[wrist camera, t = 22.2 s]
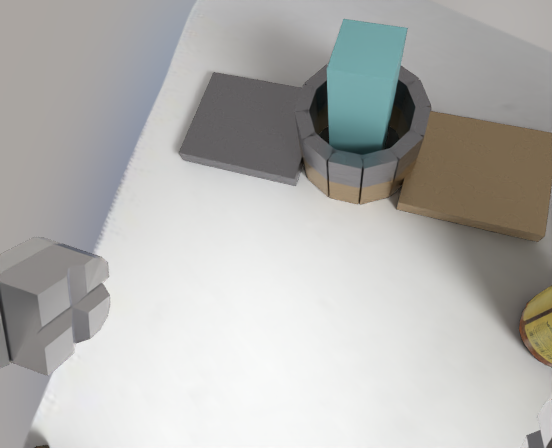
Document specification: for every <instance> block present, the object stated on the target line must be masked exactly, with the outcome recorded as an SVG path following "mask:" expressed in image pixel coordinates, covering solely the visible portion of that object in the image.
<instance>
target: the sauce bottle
mask: <svg viewBox="0 0 552 448" xmlns="http://www.w3.org/2000/svg"><path fill="white" fill-rule="evenodd" d="M519 331H520V335H521V338H522V340H523V342H524V344H525V346H526V347H527V348H528V350H529V351H530V352H531V354H532V355H533V356H534V357H535V358H536V359H537V360H538V361H540V362H542V363H544V364H545V365H548V366H550V367H552V285H551V286H550V287H548V288H547V289H545V290H544V291H542V292H540V293H539V294H537V295H536V296H535V297H534V298H533V299H532V300H531V301H529V302H528V303H527V304H526V307H525V309H524V310H523V312H522V316H521V319H520V325H519Z"/></svg>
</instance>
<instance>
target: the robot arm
mask: <svg viewBox="0 0 552 448" xmlns="http://www.w3.org/2000/svg"><path fill="white" fill-rule="evenodd" d="M108 277H109V271H108V262H107V261H106V260H105V259H103V258H102V257H100V256H97V255H94V254H91V253H88V252H86V251H83V250H80V249H77V248H74V247H71V246H68V245H65V244H60V243H58V242H56V241H52V240H49V239H46V238H43V237H33V238H31V239H29V240H27V241H25V242H23V243H21V244H19V245H17V246H15V247H13V248H11V249H9V250H7V251H5V252H3V253H1V254H0V368H3V367H5V366H7V365H9V364H10V362H11V363H14V364H17V365H19V366H22V367H25V368H27V369H30V370H33V371H36V372H38V373H41V374H44V375H47V376H49V375H50V374H51V373H52V372H53V371H54V370H55V369H57V368H58V367H59V366H60V365H61V364H62V363H63V362H65V361H66V360H67V359H68V358H69V357H70V356H71V355H73V354H74V350H75V343H79V342H82V341H85V340H88V339H91V338H92V337H93V336H94V335H95V334H96V333H97V332H98V331H99V330H100V329H101V327H102V325H103V324H104V322H105V320H106V318H107V317H108V313H109V308H110V295H109V293H108V291H107V290H106V288H105V286H104V285H103V283H104V282H105V281H106V280H107V279H108ZM537 418H538V422H539V427H540V430H539V431H536V432H534V433H531V434H529V435H527V436H526V438H525V440H524V442H523V444H522V446H521V448H552V399H549V400H548V401H547V402H546V403H545V404H544V405H543V406H542V408H541V410H540V412H539V413H538V415H537Z"/></svg>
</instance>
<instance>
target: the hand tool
mask: <svg viewBox="0 0 552 448" xmlns="http://www.w3.org/2000/svg"><path fill="white" fill-rule="evenodd" d="M35 448H49V446H48V445H42V446H36V447H35Z"/></svg>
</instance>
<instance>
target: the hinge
mask: <svg viewBox="0 0 552 448" xmlns="http://www.w3.org/2000/svg"><path fill="white" fill-rule="evenodd" d="M327 67H328V65H325V66H324V67H323V68H322V69H321V70H320V71H318V72H317V73H316V74H315V75H314V76H312V77H311V78H310V79H309V80H308V81H307V82H305V85H303V88H299V87H293V86H288V85H282V84H277V83H271V82H266V81H260V80H254V79H249V78H243V77H238V76H232V75H227V74H221V73H215V72H214V73H213V75H212V77H211V80H210V82H209V84H208V86H207V89H206V91H205V93H204V96H203V98H202V100H201V103H200V105H199V107H198V110H197V112H196V114H195V117H194V119H193V121H192V124H191V126H190V128H189V130H188V133H187V135H186V137H185V140H184V142H183V144H182V147H181V149H180V151H179V154H180V155H181V157H182V158H183V160H185V161H189V162H194V163H198V164H202V165H207V166H211V167H215V168H220V169H224V170H228V171H233V172H237V173H241V174H246V175H250V176H254V177H259V178H263V179H267V180H272V181H276V182H280V183H285V184H289V185H293V186H296V184H297V181H298V178H299V175H300V172H301V169H302V166H303V164H304V168H305V171H306V175H307V178H308V179H309V180H310V181H311V182H312V183H313V184H314V185H315V186H316V187H317V188H319V189H320V190H321V191H322V192H323V193H324V194H325V195H326V196H327V197H329V196H330V198H332V199H337V200H341V201H345V202H349V203H354V204H358V203H360V204H364V203H368V202H372V201H376V200H380V199H384V198H388V197H389V196H391V195H392V194H393V193H394V192H396V191H397V190H398V189H399V188H400V187H401V186H402V188H401V192H400V196H399V200H398V204H397V208H396V209H397V210H402V211H406V212H410V213H414V214H419V215H423V216H427V217H432V218H436V219H440V220H445V221H449V222H453V223H458V224H462V225H466V226H471V227H475V228H479V229H484V230H488V231H492V232H497V233H501V234H505V235H510V236H514V237H518V238H523V239H527V240H531V241H536V242H538V241H539V240H541V239H542V238H543V237H544V236H545V232H546V224H547V216H548V208H549V200H550V193H551V185H552V133H550V132H544V131H539V130H533V129H527V128H522V127H516V126H511V125H505V124H500V123H494V122H488V121H483V120H477V119H472V118H466V117H461V116H455V115H449V114H444V113H438V112H433V111H431V104H430V102H429V99H428V97H427V95H426V92H425V90H424V88H423V85H422V83H421V81H420V80H418V79H419V78H418V77H416V76H415V75H414V74H412V73H411V72H409V71H408V70H406V69H405V68H404V67H402V66H400V71H399V77H398V82H397V87H396V92H395V98H394V103H393V108H392V114H391V119H390V124H389V126H390V127H391V128H393V129H394V130H395V131H397V134H398V136H399V139H400V140H399V141H397V142H396V143H395V144H394V145H393V146H392V147H391V148H389V149H385V150H381V151H377V152H373V153H369V154H365V155H359V154H355V153H350V152H345V151H340V150H335V149H334V148H333V147H331V146H330V145H329V144H328V143H327V142H326V141H324V140H323V139H322V138H321V137H320V136H319V134H320V133H321V132H322V131H323V130H324V129H325V128H326V127H328V126H329V121H328V92H327Z"/></svg>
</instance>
